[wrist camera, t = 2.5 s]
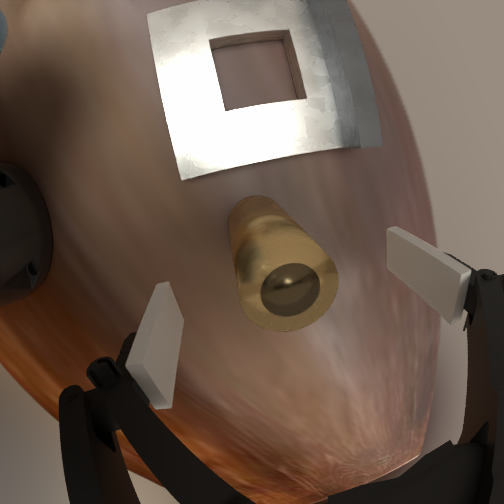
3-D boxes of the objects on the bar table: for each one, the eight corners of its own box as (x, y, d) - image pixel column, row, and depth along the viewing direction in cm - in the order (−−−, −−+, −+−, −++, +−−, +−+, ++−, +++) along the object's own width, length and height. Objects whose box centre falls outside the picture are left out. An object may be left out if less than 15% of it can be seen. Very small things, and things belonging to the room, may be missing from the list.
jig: (185, 177, 22) (175, 185, 17) (152, 25, 16) (138, -2, 11) (350, 144, 22) (383, 145, 17) (314, 3, 17) (336, -23, 12)
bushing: (235, 255, 25) (251, 341, 14) (222, 203, 23) (228, 257, 12) (288, 242, 25) (340, 317, 14) (278, 190, 23) (334, 231, 12)
